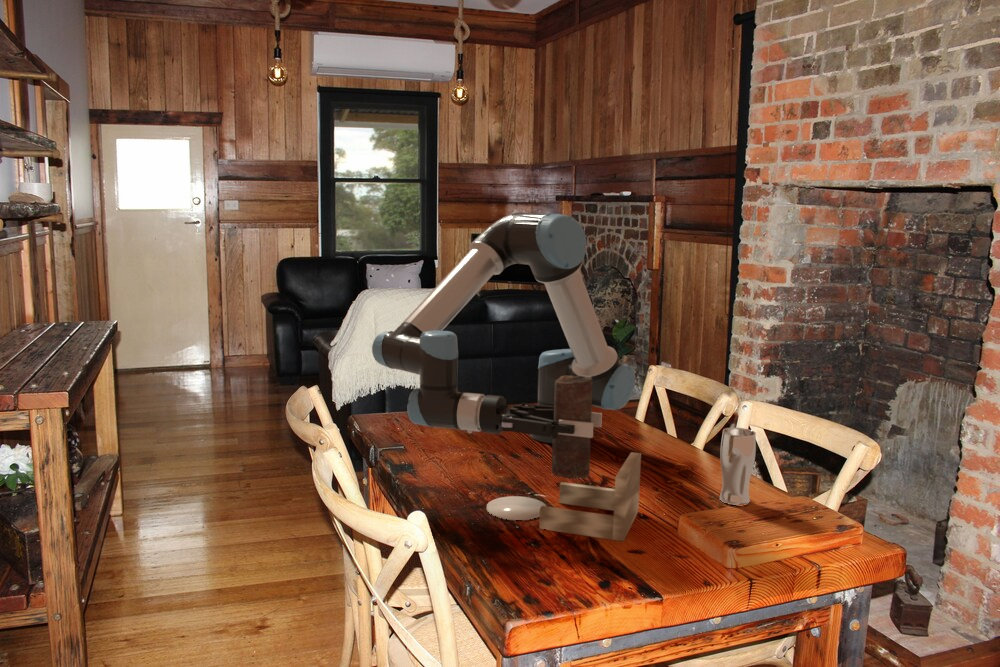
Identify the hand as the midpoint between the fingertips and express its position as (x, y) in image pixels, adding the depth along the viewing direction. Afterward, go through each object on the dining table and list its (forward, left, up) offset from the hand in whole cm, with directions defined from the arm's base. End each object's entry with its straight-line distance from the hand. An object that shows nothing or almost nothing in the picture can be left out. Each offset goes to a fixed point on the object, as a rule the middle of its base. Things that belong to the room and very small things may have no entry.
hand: (597, 425), depth 158 cm
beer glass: (-29, +16, -19) cm, 38 cm away
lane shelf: (0, -2, -19) cm, 19 cm away
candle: (+2, -5, -11) cm, 12 cm away
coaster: (+5, -15, -19) cm, 25 cm away
